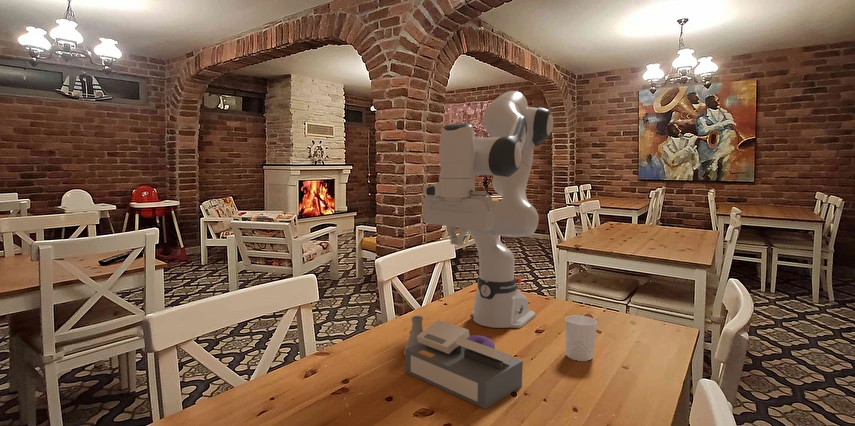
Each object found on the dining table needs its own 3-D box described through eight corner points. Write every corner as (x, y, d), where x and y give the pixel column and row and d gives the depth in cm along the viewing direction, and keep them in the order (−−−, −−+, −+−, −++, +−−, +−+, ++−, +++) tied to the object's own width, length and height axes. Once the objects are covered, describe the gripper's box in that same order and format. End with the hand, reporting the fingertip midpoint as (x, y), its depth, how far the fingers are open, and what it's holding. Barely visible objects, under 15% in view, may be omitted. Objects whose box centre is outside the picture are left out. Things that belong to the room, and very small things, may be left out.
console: (443, 355, 122) (444, 327, 121) (521, 386, 106) (522, 354, 105) (404, 372, 112) (405, 342, 111) (484, 409, 95) (485, 374, 95)
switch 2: (474, 350, 110) (476, 342, 110) (510, 363, 103) (512, 355, 103) (455, 344, 104) (458, 335, 105) (491, 357, 97) (494, 348, 98)
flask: (427, 360, 119) (428, 323, 118) (400, 358, 120) (400, 321, 119) (432, 349, 126) (432, 313, 125) (407, 347, 127) (406, 312, 126)
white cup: (569, 348, 128) (571, 313, 127) (598, 355, 123) (600, 318, 122) (559, 357, 121) (561, 321, 120) (590, 365, 117) (591, 327, 116)
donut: (499, 358, 120) (496, 341, 119) (465, 366, 119) (461, 349, 119) (491, 343, 130) (488, 327, 129) (459, 351, 129) (456, 334, 129)
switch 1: (439, 325, 118) (437, 319, 118) (469, 336, 111) (468, 329, 111) (418, 342, 113) (416, 335, 112) (448, 354, 106) (447, 347, 105)
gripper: (499, 190, 109) (498, 248, 111) (435, 186, 123) (435, 237, 125) (483, 192, 104) (483, 252, 106) (418, 188, 118) (419, 241, 120)
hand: (456, 244), depth 116 cm, fingers closed
